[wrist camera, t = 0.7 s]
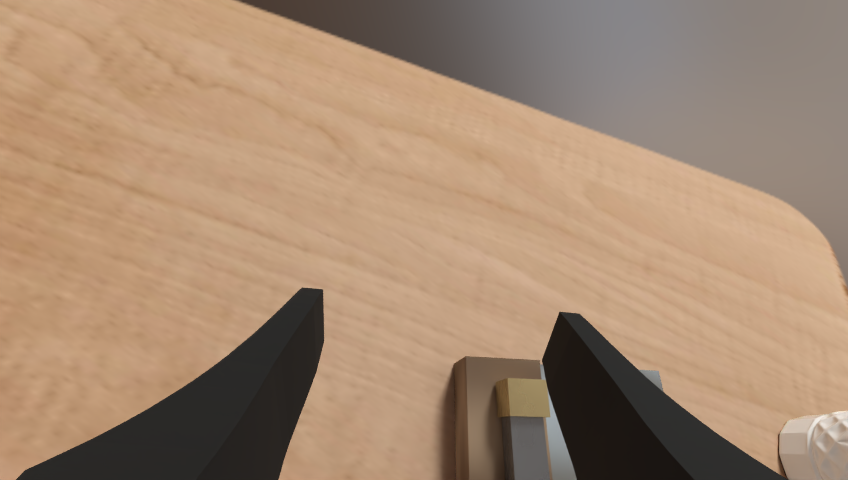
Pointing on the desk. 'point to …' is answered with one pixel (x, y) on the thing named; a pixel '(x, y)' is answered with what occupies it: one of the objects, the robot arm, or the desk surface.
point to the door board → (482, 426)
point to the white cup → (815, 447)
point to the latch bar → (523, 427)
